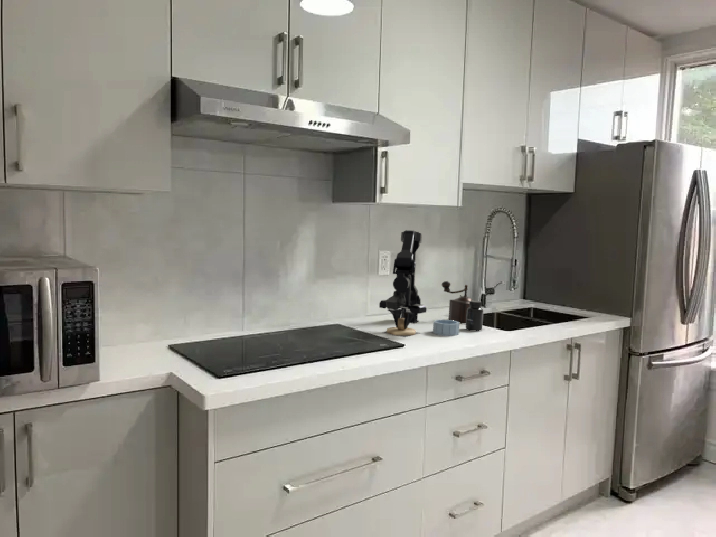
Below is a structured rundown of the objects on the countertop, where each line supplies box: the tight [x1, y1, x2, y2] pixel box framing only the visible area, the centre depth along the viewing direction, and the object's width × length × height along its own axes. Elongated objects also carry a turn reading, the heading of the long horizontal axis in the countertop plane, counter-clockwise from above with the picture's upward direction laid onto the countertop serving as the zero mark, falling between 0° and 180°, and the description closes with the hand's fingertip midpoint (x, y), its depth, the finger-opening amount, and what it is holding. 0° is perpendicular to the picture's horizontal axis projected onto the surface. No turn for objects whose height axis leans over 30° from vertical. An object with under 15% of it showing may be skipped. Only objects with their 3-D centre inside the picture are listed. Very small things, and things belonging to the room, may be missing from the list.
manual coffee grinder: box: [441, 280, 475, 324], centre depth 247 cm, size 16×11×18 cm
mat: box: [381, 330, 421, 338], centre depth 214 cm, size 11×11×1 cm
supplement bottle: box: [465, 300, 484, 332], centre depth 228 cm, size 7×7×12 cm
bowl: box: [432, 319, 460, 337], centre depth 216 cm, size 10×10×5 cm
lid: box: [386, 318, 417, 337], centre depth 213 cm, size 11×11×6 cm
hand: (401, 328), depth 213 cm, fingers open, 3 cm apart
